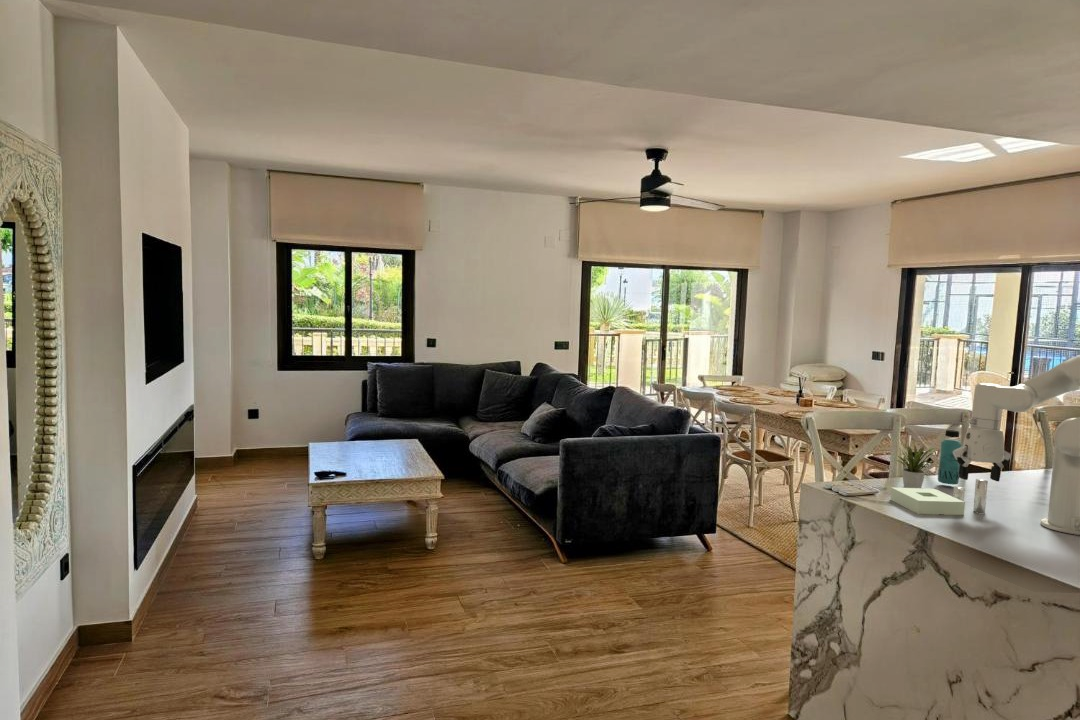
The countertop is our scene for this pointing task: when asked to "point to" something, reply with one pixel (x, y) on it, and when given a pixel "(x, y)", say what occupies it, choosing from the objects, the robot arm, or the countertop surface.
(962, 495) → the short pin
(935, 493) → the hole block
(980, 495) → the tall pin
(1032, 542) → the countertop surface
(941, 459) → the beverage bottle
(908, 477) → the house plant
